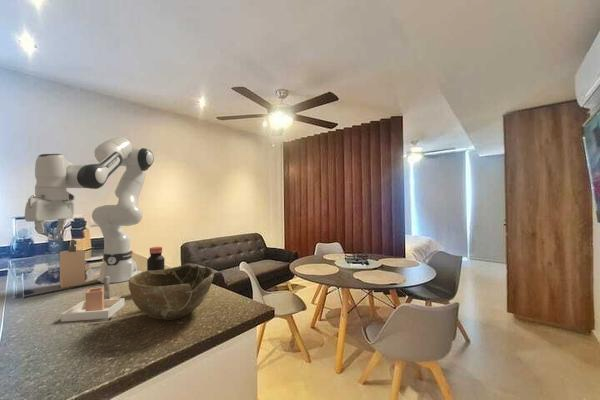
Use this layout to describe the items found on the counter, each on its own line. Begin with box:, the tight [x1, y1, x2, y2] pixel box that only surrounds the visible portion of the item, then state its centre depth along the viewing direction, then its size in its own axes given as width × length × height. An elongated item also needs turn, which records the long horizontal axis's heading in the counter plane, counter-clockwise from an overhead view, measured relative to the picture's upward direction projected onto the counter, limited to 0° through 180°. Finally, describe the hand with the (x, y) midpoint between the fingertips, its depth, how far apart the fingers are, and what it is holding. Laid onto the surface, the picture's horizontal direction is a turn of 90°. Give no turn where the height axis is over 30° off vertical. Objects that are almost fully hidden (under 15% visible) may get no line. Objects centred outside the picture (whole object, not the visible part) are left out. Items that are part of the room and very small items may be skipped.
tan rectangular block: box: [59, 239, 86, 289], centre depth 131 cm, size 13×9×22 cm
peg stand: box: [103, 276, 122, 300], centre depth 107 cm, size 9×9×10 cm
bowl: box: [128, 264, 215, 321], centre depth 95 cm, size 28×27×15 cm
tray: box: [60, 297, 126, 324], centre depth 95 cm, size 12×14×4 cm
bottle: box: [146, 246, 166, 271], centre depth 119 cm, size 7×7×20 cm
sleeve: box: [85, 286, 104, 311], centre depth 95 cm, size 5×5×8 cm
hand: (51, 232), depth 102 cm, fingers open, 8 cm apart
